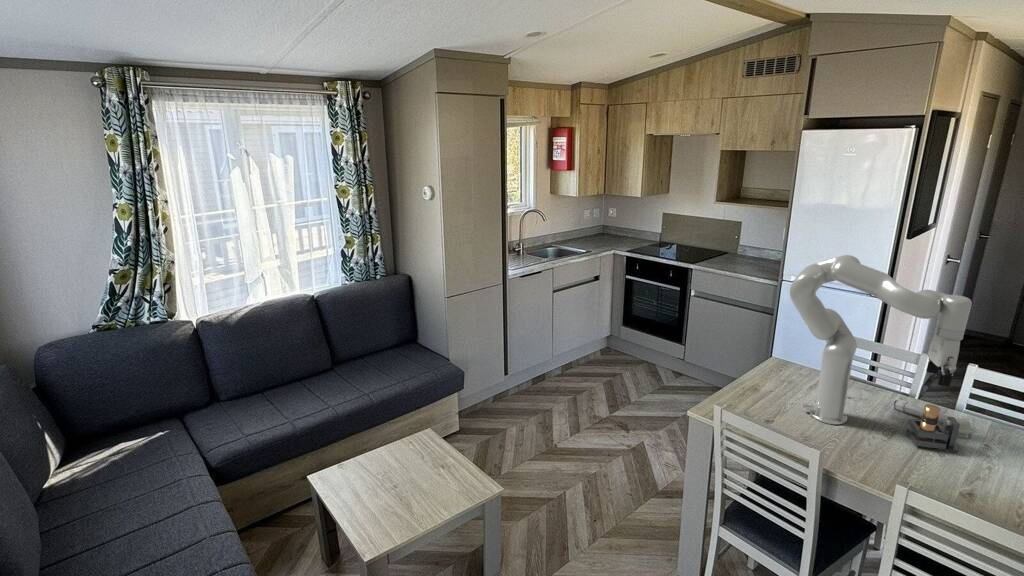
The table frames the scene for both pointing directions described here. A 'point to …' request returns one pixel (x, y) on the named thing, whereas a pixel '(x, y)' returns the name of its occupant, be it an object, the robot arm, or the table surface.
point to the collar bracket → (935, 435)
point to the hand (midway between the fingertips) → (937, 378)
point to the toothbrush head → (916, 410)
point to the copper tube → (929, 419)
